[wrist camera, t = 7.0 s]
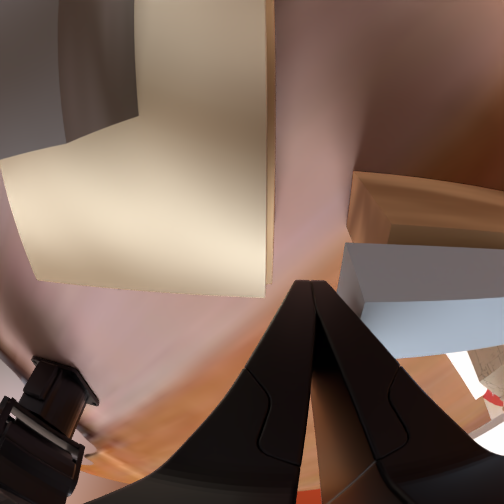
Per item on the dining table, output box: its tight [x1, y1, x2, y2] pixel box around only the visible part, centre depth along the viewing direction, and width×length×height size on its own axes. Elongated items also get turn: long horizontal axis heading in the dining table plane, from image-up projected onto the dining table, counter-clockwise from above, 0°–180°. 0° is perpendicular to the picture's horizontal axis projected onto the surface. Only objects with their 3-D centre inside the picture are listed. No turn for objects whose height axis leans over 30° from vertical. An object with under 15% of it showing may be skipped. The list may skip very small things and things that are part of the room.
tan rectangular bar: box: [347, 171, 504, 250], centre depth 11 cm, size 3×15×5 cm, turn 91°
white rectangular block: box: [446, 344, 504, 456], centre depth 15 cm, size 20×6×9 cm, turn 46°
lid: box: [0, 0, 267, 298], centre depth 6 cm, size 12×10×5 cm
